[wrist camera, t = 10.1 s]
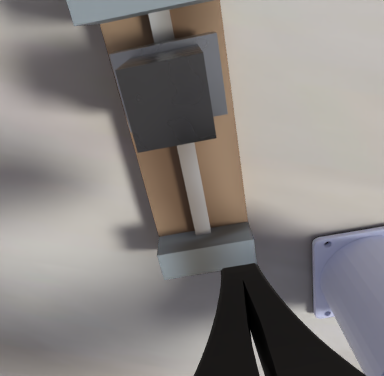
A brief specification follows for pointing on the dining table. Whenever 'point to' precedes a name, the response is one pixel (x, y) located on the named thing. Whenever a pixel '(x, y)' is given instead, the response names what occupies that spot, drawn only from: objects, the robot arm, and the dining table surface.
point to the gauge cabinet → (119, 9)
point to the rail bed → (192, 162)
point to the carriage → (171, 90)
